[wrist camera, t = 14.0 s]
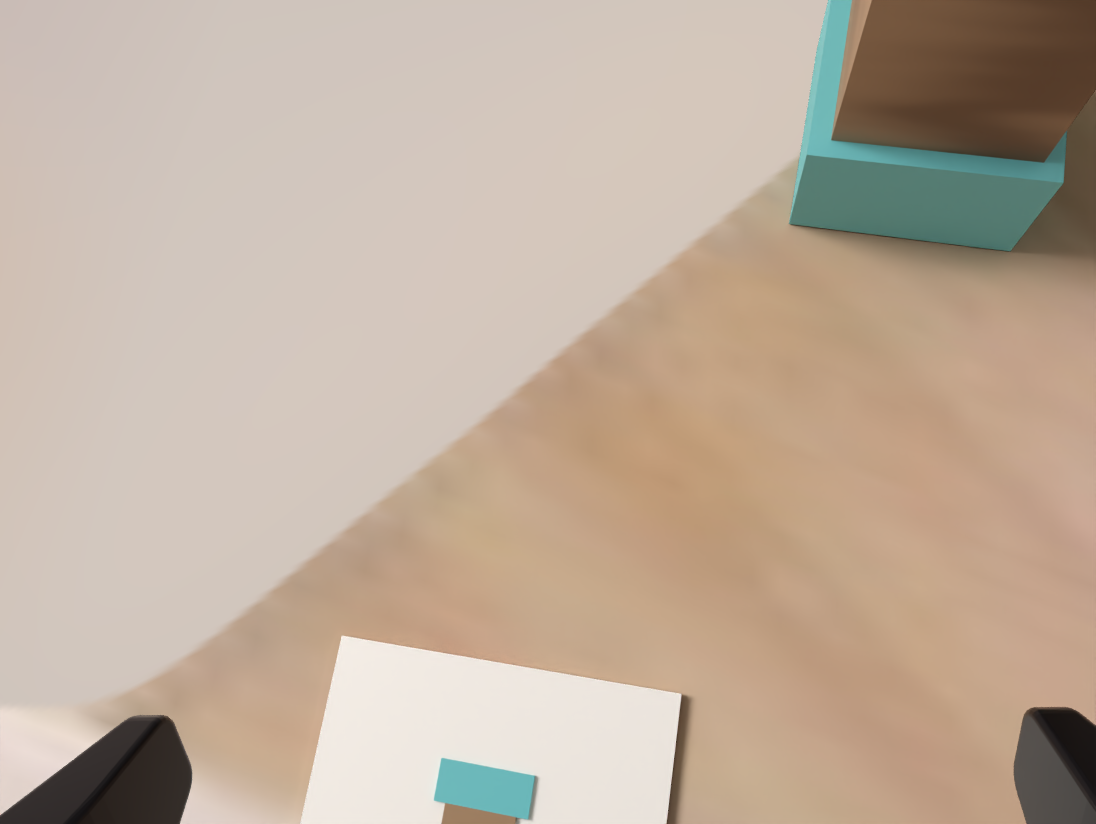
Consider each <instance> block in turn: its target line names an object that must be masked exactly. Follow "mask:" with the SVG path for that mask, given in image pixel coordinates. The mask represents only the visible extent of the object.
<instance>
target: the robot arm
mask: <svg viewBox="0 0 1096 824" xmlns="http://www.w3.org/2000/svg"><path fill="white" fill-rule="evenodd" d="M1014 781H1015V786H1016V790H1017V794H1018V797H1019V800H1020V804H1021V807H1022V810H1023V813H1024V817H1025V820H1026V823H1027V824H1096V725H1095V724H1093V723H1092V722H1091V721H1090V720H1088V719H1087V718H1086V717H1084V716H1083V715H1082V714H1081V713H1079V712H1078V711H1076V710H1074V709H1072V708H1068V707H1034V708H1030V709H1029V710H1027V711H1026V713H1025V714H1024V717H1023V721H1022V726H1021V731H1020V736H1019V741H1018V746H1017V751H1016V756H1015V761H1014ZM191 784H192V768H191V764H190V761H189V758H188V756H187V754H186V751H185V749H184V746H183V744H182V741H181V739H180V736H179V734H178V731H177V729H176V727H175V724H174V722H173V721H172V720H171V719H170V718H169V717H167V716H164V715H138V716H133V717H130V718H128V719H127V720H125V721H124V722H122V723H121V724H120V725H118V726H117V727H116V728H114V729H113V730H112V731H110V732H109V733H108V734H106V735H105V736H104V737H102V738H101V739H100V740H99V741H97V742H96V743H95V744H93V745H92V746H91V747H89V748H88V749H87V750H85V751H84V752H83V753H81V754H80V755H79V756H77V757H76V758H75V759H74V760H72V761H71V762H70V763H68V764H67V765H66V766H64V767H63V768H62V769H60V770H59V771H58V772H56V773H55V774H54V775H53V776H51V777H50V778H49V779H47V780H46V781H45V782H43V783H42V784H41V785H39V786H38V787H37V788H35V789H34V790H33V791H32V792H30V793H29V794H28V795H26V796H25V797H24V798H22V799H21V800H20V801H18V802H17V803H16V804H14V805H13V806H12V807H11V808H9V809H8V810H7V811H5V812H4V813H3V814H1V815H0V824H180V821H181V818H182V815H183V812H184V809H185V805H186V802H187V799H188V796H189V792H190V789H191Z"/></svg>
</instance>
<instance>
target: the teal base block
mask: <svg viewBox="0 0 1096 824" xmlns="http://www.w3.org/2000/svg"><path fill="white" fill-rule="evenodd" d="M851 3H852V0H828V3H827V8H826V12H825V17H824V21H823V25H822V30H821V34H820V38H819V43H818V47H817V52H816V58H815V64H814V71H813V77H812V83H811V90H810V96H809V102H808V108H807V115H806V121H805V127H804V134H803V140H802V146H801V152H800V159H799V165H798V171H797V178H796V184H795V190H794V196H793V203H792V209H791V215H790V222H789V224H794V225H802V226H810V227H818V228H826V229H834V230H842V231H850V232H858V233H866V234H874V235H882V236H890V237H898V238H906V239H915V240H923V241H931V242H939V243H947V244H955V245H963V246H971V247H979V248H987V249H995V250H1003V251H1011V250H1012V249H1013V247H1014V246H1015V245H1016V243H1017V242H1018V241H1019V240H1020V238H1021V237H1022V236H1023V234H1024V233H1025V232H1026V231H1027V229H1028V228H1029V227H1030V225H1031V224H1032V223H1033V222H1034V220H1035V219H1036V218H1037V216H1038V215H1039V214H1040V213H1041V211H1042V210H1043V209H1044V207H1045V206H1046V205H1047V204H1048V202H1049V201H1050V200H1051V198H1052V197H1053V196H1054V195H1055V193H1056V192H1057V191H1058V189H1059V188H1060V187H1061V185H1062V184H1063V183H1064V168H1065V153H1066V138H1067V131H1066V132H1065V134H1064V135H1063V136H1062V138H1061V139H1060V141H1059V142H1058V144H1057V145H1056V146H1055V148H1054V149H1053V151H1052V152H1051V153H1050V155H1049V156H1048V158H1047V159H1046V160H1045V162H1044V163H1041V162H1032V161H1022V160H1013V159H1003V158H994V157H985V156H975V155H966V154H956V153H947V152H937V151H928V150H919V149H909V148H900V147H890V146H881V145H872V144H862V143H853V142H843V141H834V140H831V137H832V130H833V123H834V116H835V110H836V103H837V96H838V90H839V83H840V76H841V70H842V63H843V56H844V50H845V43H846V36H847V30H848V23H849V16H850V9H851Z"/></svg>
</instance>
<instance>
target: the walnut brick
mask: <svg viewBox="0 0 1096 824" xmlns="http://www.w3.org/2000/svg"><path fill="white" fill-rule="evenodd" d="M1095 90H1096V0H852V3H851V9H850V16H849V23H848V30H847V36H846V43H845V50H844V56H843V63H842V70H841V76H840V83H839V90H838V96H837V103H836V110H835V116H834V123H833V130H832V137H831V140H834V141H843V142H853V143H862V144H872V145H881V146H890V147H900V148H909V149H919V150H928V151H937V152H947V153H956V154H966V155H975V156H985V157H994V158H1003V159H1013V160H1022V161H1032V162H1041V163H1044V162H1045V160H1046V159H1047V158H1048V156H1049V155H1050V153H1051V152H1052V151H1053V149H1054V148H1055V146H1056V145H1057V144H1058V142H1059V141H1060V139H1061V138H1062V136H1063V135H1064V134H1065V132H1066V131H1067V129H1068V128H1069V127H1070V125H1071V124H1072V122H1073V121H1074V120H1075V118H1076V117H1077V115H1078V114H1079V113H1080V111H1081V110H1082V108H1083V107H1084V105H1085V104H1086V103H1087V101H1088V100H1089V98H1090V97H1091V96H1092V94H1093V93H1094V91H1095Z"/></svg>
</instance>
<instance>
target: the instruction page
mask: <svg viewBox="0 0 1096 824" xmlns="http://www.w3.org/2000/svg"><path fill="white" fill-rule="evenodd" d="M680 703H681V694H679V693H674V692H668V691H662V690H656V689H650V688H644V687H639V686H633V685H627V684H621V683H615V682H609V681H604V680H598V679H592V678H586V677H580V676H575V675H569V674H563V673H557V672H551V671H545V670H540V669H534V668H528V667H522V666H516V665H510V664H505V663H499V662H493V661H487V660H481V659H475V658H470V657H464V656H458V655H452V654H446V653H440V652H435V651H429V650H423V649H417V648H411V647H405V646H400V645H394V644H388V643H382V642H376V641H370V640H365V639H359V638H353V637H347V636H342V638H341V642H340V647H339V651H338V656H337V660H336V665H335V669H334V674H333V678H332V683H331V687H330V692H329V696H328V701H327V705H326V710H325V714H324V719H323V723H322V728H321V732H320V737H319V741H318V746H317V750H316V755H315V759H314V764H313V768H312V773H311V777H310V782H309V786H308V791H307V795H306V800H305V804H304V809H303V813H302V818H301V822H300V824H666V823H667V814H668V806H669V797H670V789H671V780H672V771H673V763H674V754H675V746H676V737H677V728H678V720H679V711H680Z"/></svg>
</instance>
